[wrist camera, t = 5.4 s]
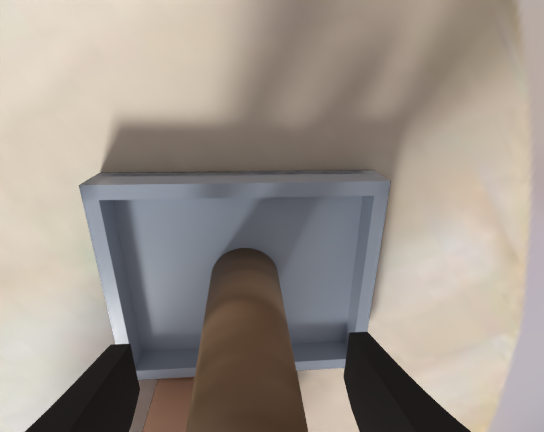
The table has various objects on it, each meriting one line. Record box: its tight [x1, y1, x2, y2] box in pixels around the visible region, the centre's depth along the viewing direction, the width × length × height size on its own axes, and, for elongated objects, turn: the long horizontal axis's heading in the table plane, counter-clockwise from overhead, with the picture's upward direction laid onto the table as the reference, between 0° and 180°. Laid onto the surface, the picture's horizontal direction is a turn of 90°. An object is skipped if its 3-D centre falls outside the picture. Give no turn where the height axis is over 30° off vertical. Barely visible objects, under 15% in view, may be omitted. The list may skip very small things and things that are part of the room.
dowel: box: [186, 248, 308, 432], centre depth 12 cm, size 3×3×8 cm
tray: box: [79, 170, 391, 380], centre depth 15 cm, size 12×10×2 cm
